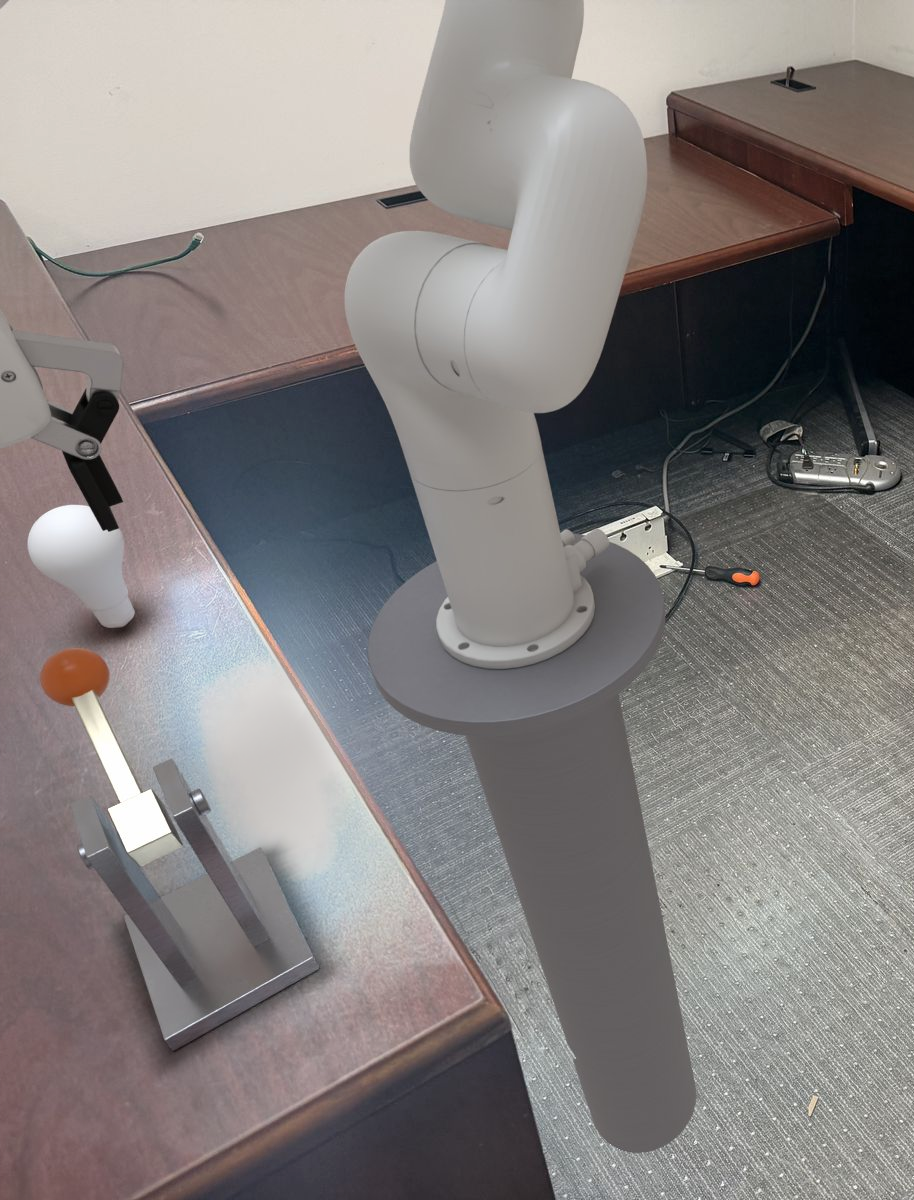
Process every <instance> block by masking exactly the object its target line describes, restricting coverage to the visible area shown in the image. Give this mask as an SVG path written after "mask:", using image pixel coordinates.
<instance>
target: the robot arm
mask: <svg viewBox="0 0 914 1200" xmlns="http://www.w3.org/2000/svg"><path fill="white" fill-rule="evenodd" d="M9 1H10V0H0V10H1V9H2V8H3V7H4V6H6V4H7V3H8V2H9ZM584 20H585V1H584V0H444V6H443V11H442V15H441V18H440V23H439V26H438V30H437V35H436V37H435V42H434V44H433V49H432V52H431V56H430V60H429V64H428V67H427V71H426V75H425V79H424V83H423V86H422V90H421V94H420V97H419V101H418V105H417V109H416V113H415V117H414V120H413V125H412V130H411V133H410V141H409V168H410V172H411V175H412V178H413V181H414V184H415V186H416V187H417V189H418V190H419V191H420V193H421V194H422V195H423V196H424V197H425V199H426V200H427V201H429V202H430V203H431V204H433V205H434V206H435V207H437V208H439V209H441V210H442V211H444V212H446V213H449V214H451V215H454V216H457V217H459V218H462V219H465V220H469V221H472V222H475V223H479V224H483V225H487V226H491V227H495V228H500V229H504V230H508V231H511V235H510V238H509V243H508V245H507V246H508V247H507V249H503V248H499V247H495V246H493V245H490V244H487V243H483V242H479V241H474V240H471V239H467V238H463V237H459V236H458V237H457V236H453V235H449V234H445V233H440V232H435V231H434V232H433V231H426V230H403V231H397V232H392V233H388V234H386V235H383V236H381V237H379V238H377V239H375V240H374V241H372V242H371V243H369V244H368V245H366V246H365V247H364V248H363V249H362V251H361V252H360V253H359V254H358V255H357V256H356V257H355V259H354V261H353V263H352V264H351V266H350V268H349V271H348V274H347V277H346V282H345V286H344V295H343V296H344V298H343V299H344V313H345V318H346V319H345V320H346V322H347V326H348V329H349V332H350V336H351V339H352V341H353V343H354V345H355V348H356V350H357V352H358V355H359V357H360V359H361V360H362V363H363V364H364V367H365V368H366V370H367V372H368V373H369V375H370V377H371V380H373V383H374V385H375V386H376V388H377V390H378V392H379V394H380V396H381V398H382V400H383V402H384V404H385V406H386V409H387V411H388V414H389V416H390V418H391V422H392V424H393V426H394V430H395V431H396V435H397V437H398V440H399V441H398V442H399V443H400V444H399V445H400V447H401V449H402V453H403V456H404V460H405V463H406V465H407V469H408V472H409V475H410V478H411V482H412V485H413V488H414V491H415V495H416V498H417V501H418V504H419V508H420V511H421V514H422V517H423V520H424V524H425V527H426V530H427V533H428V536H429V541H430V543H431V547H432V549H433V553H434V556H435V560H436V561H437V563H438V566H439V569H440V572H441V575H442V579H443V582H444V585H445V588H446V592H447V595H448V597H447V598H446V599H445V600H444V602H443V604H442V605H441V607H440V609H439V612H438V615H437V618H436V628H437V632H438V635H439V639H440V641H441V643H442V645H443V647H444V649H445V650H446V651H447V652H448V653H449V654H450V655H451V656H453V657H454V658H456V659H458V660H459V661H461V662H463V663H466V664H469V665H472V666H476V667H482V668H488V669H508V668H518V667H523V666H527V665H531V664H535V663H538V662H541V661H543V660H546V659H549V658H551V657H553V656H555V655H557V654H559V653H561V652H562V651H564V650H565V649H567V648H568V647H570V646H571V645H573V644H574V643H575V642H576V641H577V640H578V639H579V638H580V637H581V636H582V635H583V634H584V633H585V631H586V630H587V629H588V627H589V626H590V624H591V622H592V619H593V617H594V611H595V603H594V596H593V592H592V590H591V587H590V585H589V584H588V582H587V581H586V579H585V578H584V577H582V576H581V575H580V572H582V571H583V570H584V569H585V567H586V562H587V561H588V560H589V559H591V558H594V557H596V556H597V555H598V554H600V553H601V552H602V551H604V550H605V549H606V548H608V546H609V542H610V540H609V539H610V538H608V536H607V534H606V532H604V531H603V530H602V529H600V528H594V529H592V530H591V531H590V532H588V533H587V534H584V535H585V536H584V537H583V538H581V539H580V540H579V542H578V543H577V544H575V545H574V546H572V544H573V543H575V541H576V539H575V536H574V534H575V533H574V534H573V532H572V531H571V530H569V529H566V528H565V529H564V530H563V531H561V530H560V529H561V528H560V526H559V521H558V520H559V519H558V516H557V511H556V507H555V501H554V498H553V492H552V488H551V484H550V478H549V473H548V470H547V465H546V459H545V456H544V450H543V446H542V439H541V436H540V431H539V427H538V422H537V419H536V416H535V414H546V413H550V412H554V411H555V412H556V411H558V410H561V409H562V408H564V407H566V406H567V405H569V404H570V403H572V402H573V401H574V400H575V399H576V398H577V397H578V396H579V395H580V394H581V393H582V392H583V390H584V389H585V387H586V386H587V385H588V383H589V381H590V379H591V378H592V376H593V374H594V372H595V370H596V367H597V366H598V365H597V364H598V363H599V360H600V358H601V354H602V352H603V350H604V345H605V343H606V339H607V337H608V333H609V330H610V326H611V323H612V319H613V316H614V313H615V309H616V306H617V302H618V299H619V295H620V292H621V289H622V286H623V281H624V278H625V275H626V272H627V269H628V265H629V261H630V258H631V255H632V251H633V248H634V244H635V241H636V237H637V233H638V230H639V227H640V223H641V219H642V216H643V215H642V214H643V211H644V207H645V203H646V202H645V200H646V196H647V189H648V163H647V162H648V159H647V150H646V146H645V140H644V137H643V133H642V130H641V127H640V124H639V123H638V121H637V118H636V117H635V115H634V113H633V112H632V110H631V108H629V107H628V105H627V104H626V103H625V102H624V101H623V100H622V99H621V98H620V97H619V96H617V94H615V93H614V92H612V91H610V90H609V89H607V88H605V87H603V86H600V85H599V84H595V83H593V82H589V81H586V80H580V79H576V78H573V74H574V68H575V65H576V60H577V55H578V50H579V46H580V43H581V39H582V34H583V28H584ZM36 368H42V369H43V368H44V369H50V370H51V369H52V370H59V371H66V372H67V371H69V372H75V373H77V372H78V373H82V374H85V375H86V388H85V389H84V391H83V393H82V395H81V397H80V399H79V400H78V403H77V404H76V406H75V408H74V410H70V409H68V408H66V407H64V406H62V405H60V404H57V403H55V402H52V401H50V400H48V399H47V397H46V394H45V391H44V389H43V388H44V387H43V383H42V381H41V378H40V375H39V373H38V371H37V369H36ZM123 373H124V358H123V357H122V354H121V352H120V351H119V349H118V348H117V346H115V345H113V344H112V343H108V342H103V341H102V342H101V341H94V340H87V339H79V338H73V337H65V336H58V335H52V334H51V335H50V334H43V333H37V332H29V331H22V330H15V329H14V328H13V326H12V324H11V323H10V321H9V320H8V318H7V317H6V315H5V313H4V312H3V310H2V308H1V307H0V449H3V448H6V447H10V446H12V445H15V444H18V443H21V442H23V441H26V440H28V439H32V440H35V441H37V442H39V443H42V444H44V445H47V446H49V447H52V448H54V449H57V450H59V451H61V452H62V455H63V457H64V460H65V463H66V465H67V467H68V469H69V472H70V474H71V476H72V477H73V479H74V481H75V483H76V485H77V487H78V488H79V491H80V492H81V494H82V496H83V498H84V500H85V501H86V503H87V506H89V507H90V509H91V510H92V512H93V514H94V516H95V518H96V520H97V521H98V523H99V525H100V527H101V529H102V530H103V531H105V530H108V532H110V531H113V530H116V529H120V526H119V525H118V522H117V520H116V518H115V515H114V512H113V511H112V509H111V507H113V506H115V505H118V504H123V503H124V500H123V497H122V495H121V493H120V492H119V489H118V488H117V486H116V484H115V482H114V480H113V478H112V476H111V474H110V472H109V470H108V467H107V466H106V464H105V462H104V460H103V459H102V456H101V453H102V449H103V448H102V443H103V441H104V439H105V437H106V435H107V433H108V431H109V430H110V428H111V426H112V424H113V422H114V421H115V418H116V417H117V414H118V413H119V411H120V403H119V401H120V392H121V388H122V380H123Z"/></svg>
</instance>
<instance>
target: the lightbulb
mask: <svg viewBox="0 0 914 1200" xmlns="http://www.w3.org/2000/svg"><path fill="white" fill-rule="evenodd" d="M27 552H28V555H29V558H30V560H31V562H32V564H33V565H34V567H35V568H36V569H37V570H38V571H39V572H40V573H41V574H42V575H44V576H45V577H47V578H48V579H50V580H52V581H54V582H56V583H57V584H59V585H62V586H64V587H65V588H67V589H69V590H70V591H71V592H72V593H74V595H75V596H77V598H78V599H80V601H81V602H82V604H83V605H84V607H86V608H87V609H89V610H91V611H92V613H93V615H94V616H95V618H96V619H97V621H98V622H99V623H100V625H101V626H103V627H105V628H108V629H110V628H111V629H114V628H115V629H116V628H123V627H125V626H126V625H128V623H129V622H130V621H132V619H134V617H135V614H136V611H135V609H134V606H133V604H132V602H131V599H130V598H129V590H128V589H129V588H128V587H127V584H126V582H125V579H124V575H123V561H124V555H125V539H124V535H123V532H122V530H121V528H119V529H116V530H113V531H110V532H108V530H105V531H103V530H102V529H101V527H100V525H99V523H98V521H97V520H96V518H95V516H94V514H93V512H92V510H91V509H90V507H89V505H85V504H66V505H61V506H57V507H55V508H52V509H50V510H48V511H46V512H44V513H43V514H42V515H41V516H40V517H39V518H37V520H35V522H34V523H33V524H32V527H31V528H30V530H29V533H28V537H27Z"/></svg>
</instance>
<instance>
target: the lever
mask: <svg viewBox="0 0 914 1200" xmlns="http://www.w3.org/2000/svg"><path fill="white" fill-rule="evenodd" d="M110 679H111V673H110V668H109V666H108V663H107V662H106V661H105V659H104V658H103V657H102V656H101V655H100V654H98V653H96V652H95V651H93V650H91V649H87V648H82V647H71V648H65V649H62V650H60V651H57V652H55V653H54V654H53V655H51V656H50V657H49V658H48V659H47V660H46V661H45V663H44V664H43V666H42V668H41V670H40V675H39V682H40V686H41V689H42V690H43V692H44V694H45V695H46V696H47V697H48V698H49V699H51V700H52V701H53V702H55V703H57V704H58V705H62V706H67V707H74V708H75V709H76V712H77V714H78V716H79V718H80V721H81V723H82V725H83V727H84V729H85V732H86V734H87V736H88V738H89V740H90V742H91V744H92V747H93V748H94V751H95V753H96V755H97V757H98V760H99V761H100V764H101V766H102V768H103V770H104V772H105V775H106V777H107V779H108V781H109V783H110V786H111V788H112V790H113V792H114V794H115V797H116V799H117V801H118V803H116V804H114V805H111V806H109V807H108V808H107V809H106V811H107V813H108V816H109V818H110V820H111V822H112V824H113V825H112V826H113V828H114V829H115V831H116V832H117V834H118V836H119V838H120V840H121V842H122V844H123V847H124V849H125V851H126V853H127V854H128V855H129V856H130V857H131V858H132V859H133V860H134V861H135V862H136V863H137V865H138V866H140V868H142V867H143V866H146V865H148V864H149V863H152V862H155V861H156V860H158V859H160V858H162V857H164V856H166V855H168V854H170V853H173V852H175V851H176V850H179V849H181V848H182V847H184V844H183V843H184V842H183V841H182V839H181V837H180V835H179V833H178V830H177V829H176V826H175V824H174V822H173V820H172V818H171V816H170V814H169V811H168V810H167V808H166V805H165V804H164V802H163V801H162V800H161V798H160V797H159V796H158V794H156V791H154V790H153V788H149V789H147V790H143V788H142V785H141V784H140V782H139V779H138V778H137V775H136V773H135V771H134V768H133V767H132V764H131V763H130V760H129V758H128V756H127V754H126V752H125V750H124V747H123V746H122V743H121V741H120V739H119V737H118V735H117V733H116V731H115V728H114V726H113V725H112V722H111V720H110V718H109V716H108V714H107V711H106V710H105V707H104V705H103V702H102V701H101V699H100V697H101V696H103V694H104V693H105V692H106V691H107V688H108V687H109V684H110Z"/></svg>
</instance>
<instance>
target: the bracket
mask: <svg viewBox="0 0 914 1200" xmlns="http://www.w3.org/2000/svg"><path fill="white" fill-rule="evenodd" d="M152 769H153V772H154V774H155V777H156V779H157V781H158V784H159V786H160V789H161V791H162V794H163V797H164V798H165V801H166V804H167V806H168V809H169V811H170V814H171V816H172V818H173V820H174V821H175V823H176V825H177V826H178V828H179V829H180V831H181V833H182V834H183V836H184V838H185V840H186V841H187V843H188V844H189V845H190V847H191V849H192V851H193V852H194V854H195V855H196V857H197V859H198V861H199V863H201V865H202V866H203V868H204V870H205V871H206V873H207V874H204V875H202V876H200V877H199V878H195V880H193V881H191V882H188V883H187V884H185V885H183V886H180V887H179V888H176V889H174V890H173V891H170V892H169V893H166V894H165V895H162V896H161V895H160V894H159V892H158V891H157V890H156V888H155V886H154V885H153V884H152V883H151V881H150V879H149V878H148V877H147V875H146V874H145V872H144V871H143V869H142V867H140V866H138V865H137V863H136V862H135V861H134V860H133V859H132V858H131V857H130V856H129V855H128V854H127V853H126V851H125V849H124V847H123V844H122V842H121V840H120V838H119V836H118V833H117V831H116V829H115V827H114V825H112V823H111V822H110V821H109V819H108V817H107V816H106V815H105V813H104V811H103V810H102V809H101V807H100V806H99V804H98V802H97V801H96V800H95V798H94V797H93V796H92V794H89V795H86V796H84V797H82V798H80V799H78V800H77V799H76V800H75V801H73V802H71V803H70V804H69V805H70V809H71V811H72V815H73V818H74V821H75V824H76V828H77V832H78V834H79V838H80V840H81V843H78V844H77V845H76V849H77V853H78V855H79V857H80V859H81V861H82V862H83V864H84V865H85V867H86V868H87V869H88V870H92V869H94V870H95V871H96V873H97V874H98V875H99V877H100V878H101V880H102V881H103V882H104V884H105V885H106V887H107V888H108V889H109V890H110V892H111V893H112V895H113V896H114V898H115V899H116V900H117V902H118V903H119V904H120V906H121V907H122V909H123V910H124V911H125V913H126V914H125V915H123V919H124V922H125V925H126V929H127V931H128V934H129V937H130V941H131V943H132V946H133V949H134V952H135V955H136V958H137V962H138V965H139V968H140V970H141V974H142V976H143V980H144V983H145V986H146V989H147V992H148V995H149V999H150V1001H151V1004H152V1007H153V1010H154V1013H155V1016H156V1020H157V1023H158V1025H159V1028H160V1031H161V1034H162V1038H163V1041H164V1042H165V1043H166V1044H167V1045H168V1047H169V1049H171V1051H172V1052H175V1051H177V1050H178V1049H181V1048H182V1047H184V1046H186V1045H187V1044H190V1043H191V1042H192V1041H194V1040H197V1039H198V1038H199V1037H201V1036H203V1035H205V1034H207V1033H208V1032H211V1031H212V1030H214V1029H216V1028H217V1027H219V1026H221V1025H223V1024H225V1023H226V1022H228V1021H230V1020H231V1019H233V1018H235V1017H237V1016H239V1015H241V1014H242V1013H244V1012H246V1011H247V1010H250V1009H251V1008H253V1007H255V1006H256V1005H258V1004H260V1003H262V1002H263V1001H265V1000H266V999H268V998H270V997H273V996H274V995H276V994H277V993H279V992H281V991H283V990H284V989H286V988H288V987H289V986H291V985H293V984H295V983H297V982H299V981H301V980H303V979H304V978H306V977H307V976H309V975H312V974H313V973H315V972H317V971H319V969H320V967H319V965H318V963H317V960H316V959H315V956H314V954H313V952H312V950H311V947H310V945H309V943H308V942H307V939H306V937H305V935H304V933H303V931H302V929H301V927H300V925H299V923H298V921H297V918H296V916H295V915H294V914H295V913H294V912H293V910H292V907H291V906H290V904H289V902H288V900H287V898H286V897H287V896H285V893H284V890H283V889H282V887H281V884H280V882H279V881H278V879H277V876H276V874H275V872H274V870H273V868H272V866H271V863H270V862H269V860H268V858H267V856H266V854H265V852H264V850H263V848H262V847H257V848H256V849H254V850H252V851H250V852H248V853H246V854H244V855H242V856H240V857H238V858H236V859H234V860H233V859H232V857H231V856H230V854H229V852H228V850H227V849H226V847H225V845H224V843H223V842H222V841H221V840H222V839H220V836H219V835H218V834H217V832H216V830H215V829H214V827H213V825H212V823H211V821H210V820H209V818H208V817H207V814H209V813H211V812H212V809H211V806H210V804H209V802H208V800H207V798H206V797H205V795H204V793H203V791H202V790H201V789H200V788H196V789H194V790H192V789H191V787H190V786H189V784H188V782H187V781H186V779H185V777H184V776H183V774H182V772H181V770H180V769H179V767H178V766H177V764H176V761H175V760H174V759H173V758H169V759H166V760H165V761H162V762H160V763H158V764H155V765H153V766H152Z"/></svg>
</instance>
